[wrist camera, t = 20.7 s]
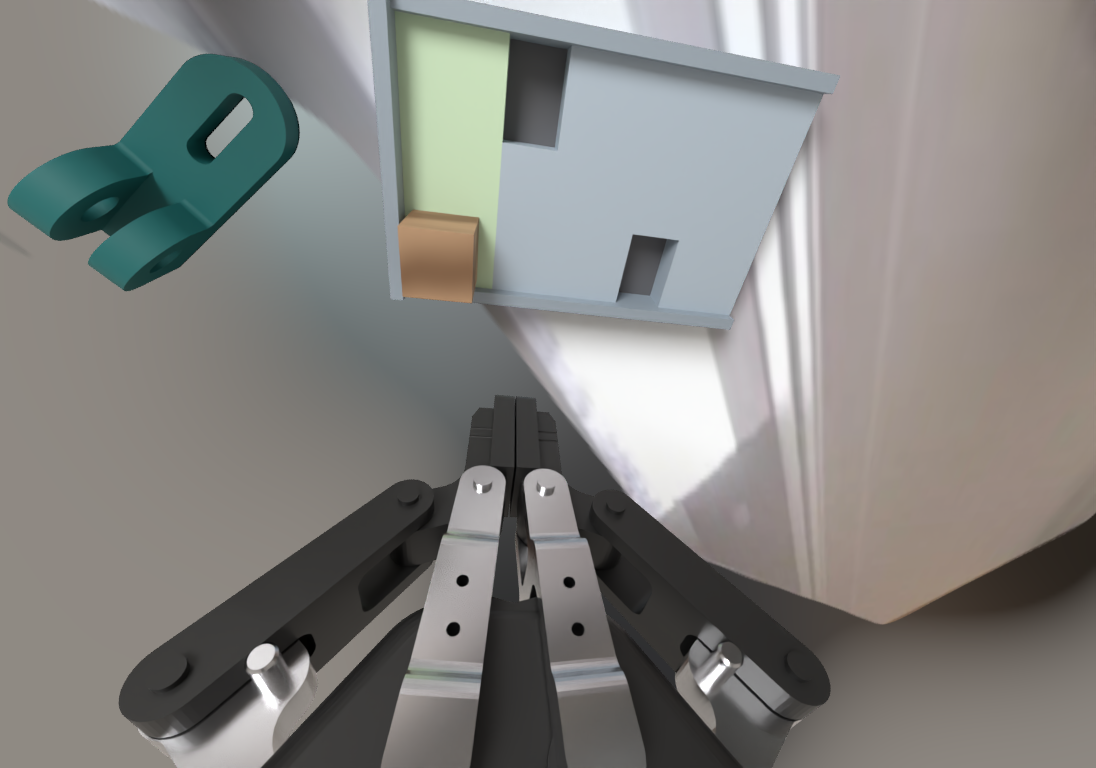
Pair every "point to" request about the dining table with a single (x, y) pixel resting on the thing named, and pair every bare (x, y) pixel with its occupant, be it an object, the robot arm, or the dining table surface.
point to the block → (438, 256)
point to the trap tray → (585, 156)
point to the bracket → (165, 172)
